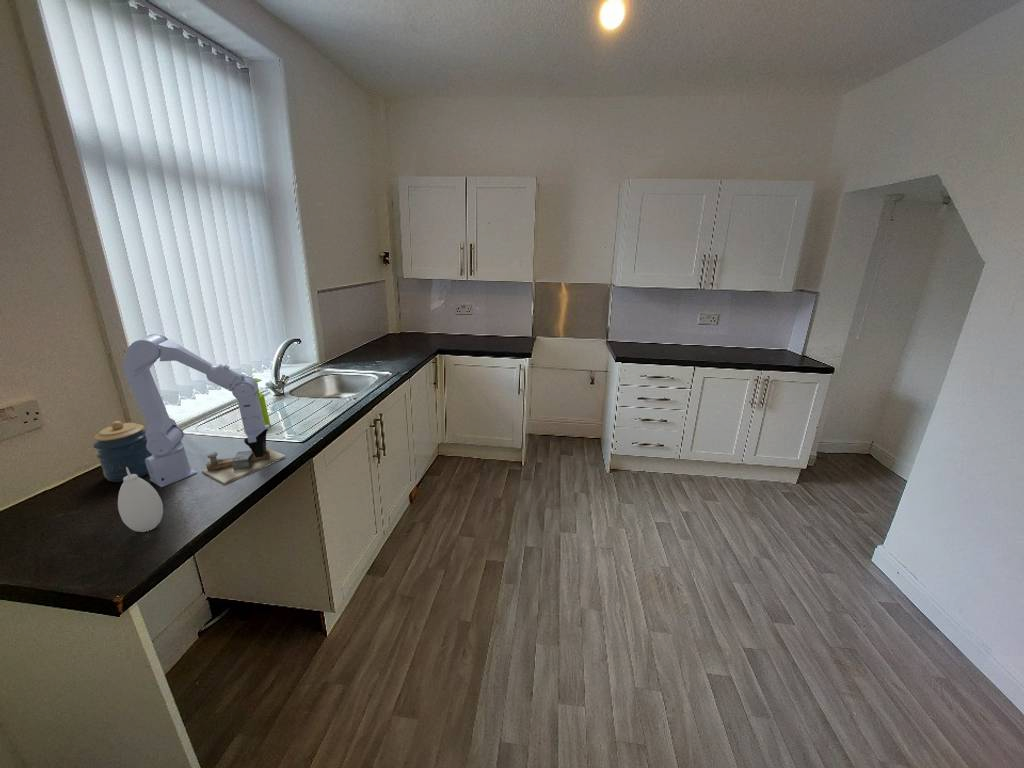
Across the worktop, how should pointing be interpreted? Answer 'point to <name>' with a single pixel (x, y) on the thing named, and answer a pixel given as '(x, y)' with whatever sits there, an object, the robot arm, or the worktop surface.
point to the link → (220, 463)
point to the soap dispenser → (263, 405)
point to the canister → (122, 450)
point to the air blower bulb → (139, 504)
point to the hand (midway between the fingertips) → (260, 453)
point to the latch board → (230, 474)
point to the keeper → (242, 460)
